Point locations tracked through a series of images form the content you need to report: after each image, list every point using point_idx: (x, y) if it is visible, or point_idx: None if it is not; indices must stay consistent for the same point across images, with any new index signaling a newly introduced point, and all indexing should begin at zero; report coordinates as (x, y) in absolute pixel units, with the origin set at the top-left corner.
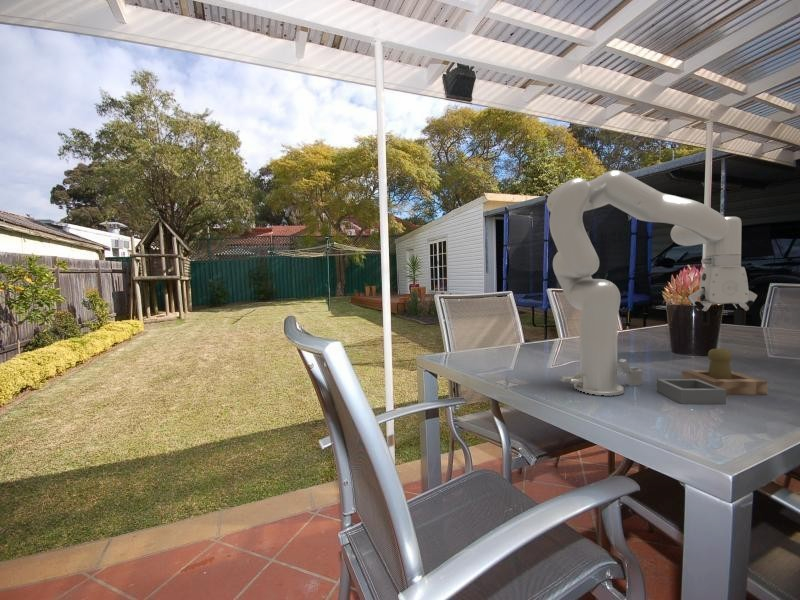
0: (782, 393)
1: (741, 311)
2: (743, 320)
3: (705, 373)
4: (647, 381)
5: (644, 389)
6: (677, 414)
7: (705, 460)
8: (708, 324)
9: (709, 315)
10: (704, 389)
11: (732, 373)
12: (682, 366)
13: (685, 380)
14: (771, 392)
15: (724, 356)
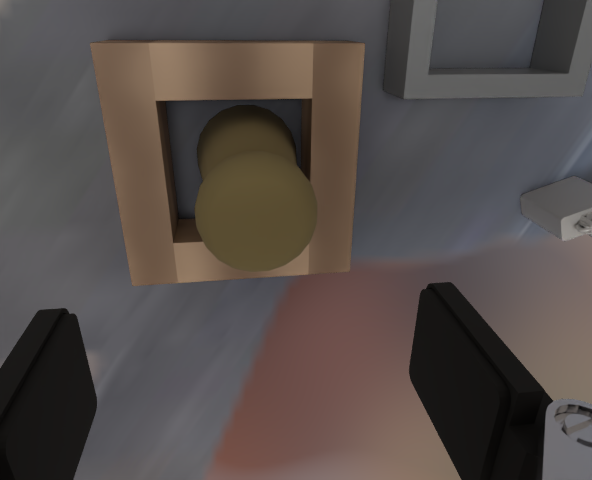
0: (17, 65)
1: (12, 452)
2: (44, 338)
3: None
4: (464, 247)
5: (562, 125)
6: None
7: None
8: (440, 283)
9: (476, 355)
10: None
11: (160, 217)
12: (182, 470)
13: (473, 74)
14: (60, 83)
15: (270, 154)
